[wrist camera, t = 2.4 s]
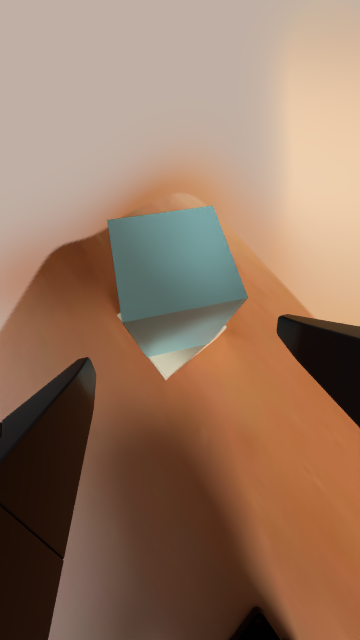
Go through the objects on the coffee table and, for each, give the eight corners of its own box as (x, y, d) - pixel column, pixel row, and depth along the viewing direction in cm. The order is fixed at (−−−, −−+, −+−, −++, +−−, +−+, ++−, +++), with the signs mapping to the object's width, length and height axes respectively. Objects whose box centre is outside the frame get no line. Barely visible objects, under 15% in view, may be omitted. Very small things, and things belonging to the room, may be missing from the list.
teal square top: (209, 343, 17) (247, 297, 8) (147, 357, 16) (122, 322, 8) (193, 289, 19) (212, 205, 10) (136, 299, 18) (107, 220, 10)
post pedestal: (165, 380, 19) (163, 375, 12) (125, 326, 21) (104, 297, 14) (217, 337, 21) (239, 312, 14) (176, 290, 22) (179, 249, 16)
